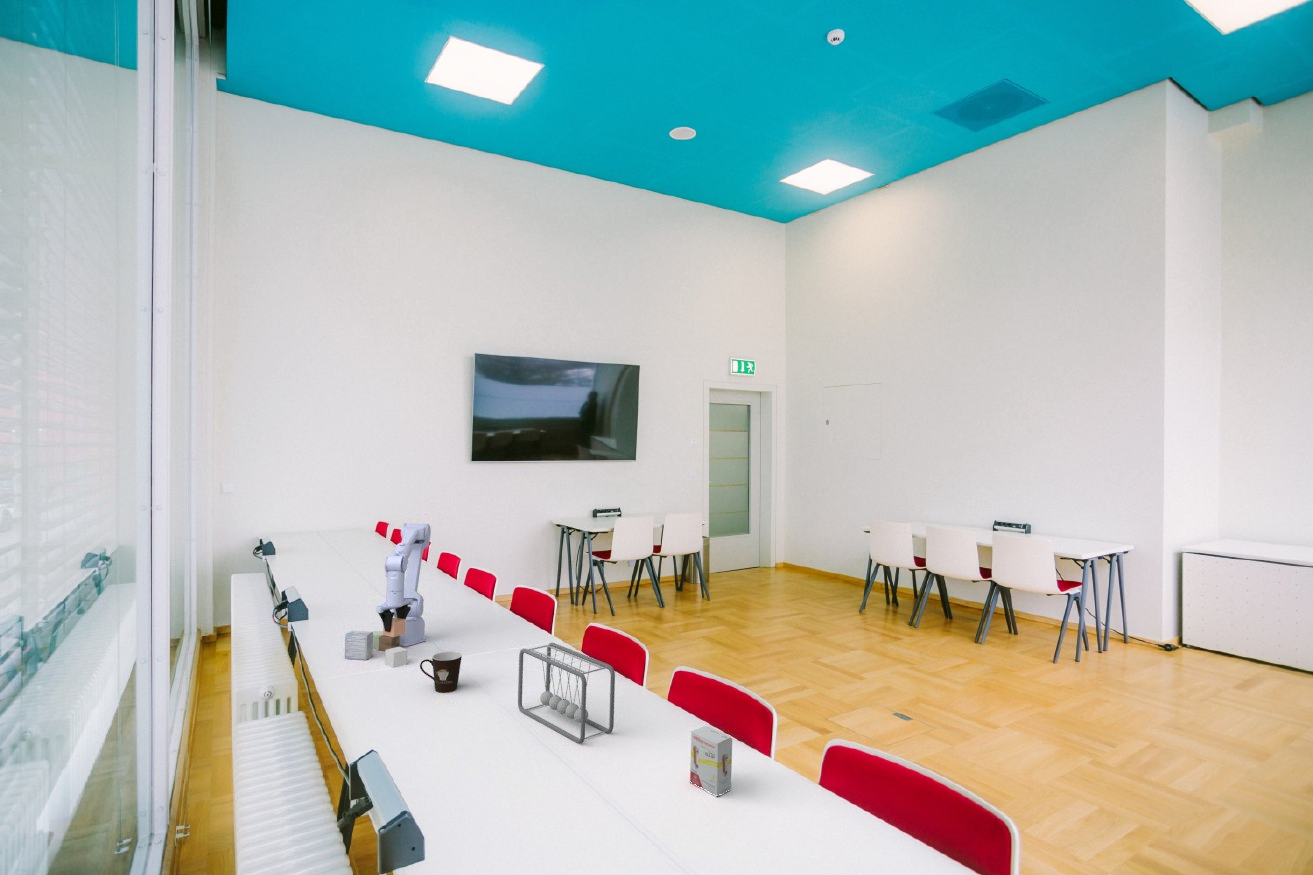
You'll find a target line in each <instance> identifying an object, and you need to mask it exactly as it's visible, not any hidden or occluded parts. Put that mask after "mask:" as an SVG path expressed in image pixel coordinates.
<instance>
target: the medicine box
mask: <svg viewBox="0 0 1313 875" xmlns="http://www.w3.org/2000/svg"><path fill="white" fill-rule="evenodd" d="M373 653H374V649H373V631H365V630H350V631H348V632H347V633H345V634H344V659H345V660H359V661H367V660H369V659H370V658H372V657H373Z"/></svg>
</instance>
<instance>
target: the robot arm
mask: <svg viewBox="0 0 1313 875" xmlns="http://www.w3.org/2000/svg"><path fill="white" fill-rule="evenodd" d="M431 532H432V530H431V525H430V524H429V523H403V524H402V526H401V529H400V536H401V542H399V543H397V544H396V546H395V547H394V550H392V552H391V554H390V555H388V556H386V558H385V561H384V570H385V578H386V595H385V596H386V598H385V599H386V600H385V601H384V603H383V604H380V605H378V606H376V607H375V613H377V614H378V615H379V617H380V619H381V622H382V625H384V629H385V631H386V632H391V627H392V619H393V618H394V617H396V618H401V619H405V634H402V635H400V647H404V648H405V647H406V648H407V647H410V646H413V645H416V644H419V643H422V642H425V641H427V639H426V638H425V632H426V631H425V627H426V625H425V623H426V622H425V620H424V618H423V617H422V615H423V613H424V597H423V596H422V595H421V594H420V593H419V592H418V587H419V580H420V574H421V573H420V572H421V566H422V559H423V554H424V551H425V549H426V548H428V547H429V544H430V541H431ZM405 573H406V575H405Z"/></svg>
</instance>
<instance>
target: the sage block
mask: <svg viewBox="0 0 1313 875" xmlns="http://www.w3.org/2000/svg"><path fill="white" fill-rule="evenodd" d="M372 632H373V650H379V637H380V636H383V630H381V631H379V630H377V631H376V630H374V631H372Z"/></svg>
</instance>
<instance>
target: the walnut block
mask: <svg viewBox="0 0 1313 875" xmlns="http://www.w3.org/2000/svg"><path fill="white" fill-rule="evenodd" d="M395 647H401V645H400V635H399V636H396V637H390V636H385V635H383V636H380V637H379V649H378V651H379V652H385V653H386V650H387V649H391V648H395Z"/></svg>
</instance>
